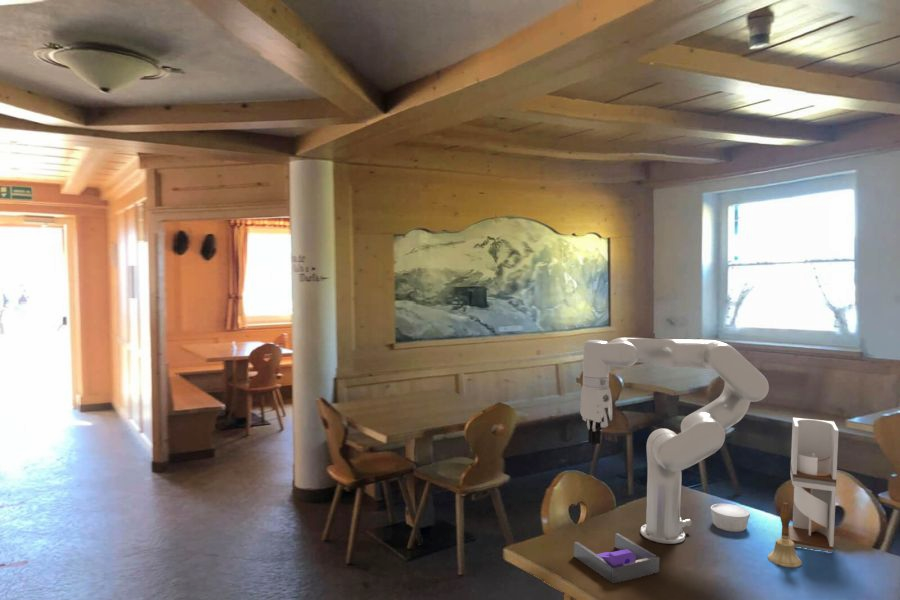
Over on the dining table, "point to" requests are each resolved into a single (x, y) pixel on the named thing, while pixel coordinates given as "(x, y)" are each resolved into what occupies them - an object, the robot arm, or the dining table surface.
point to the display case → (813, 483)
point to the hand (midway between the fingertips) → (594, 443)
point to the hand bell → (785, 543)
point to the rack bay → (626, 571)
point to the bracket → (618, 557)
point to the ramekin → (730, 517)
